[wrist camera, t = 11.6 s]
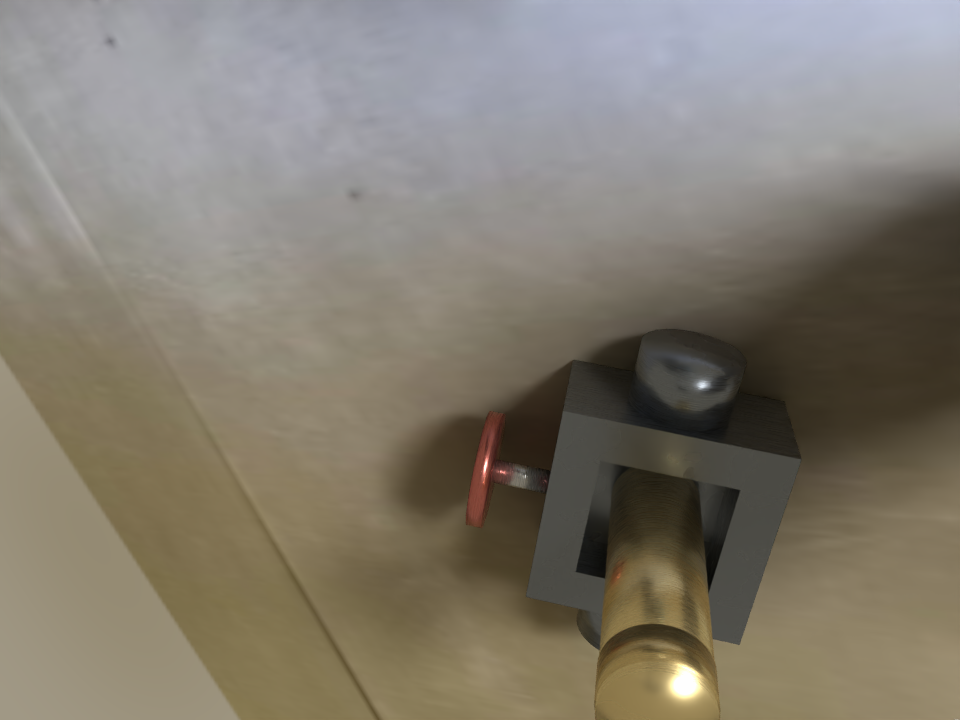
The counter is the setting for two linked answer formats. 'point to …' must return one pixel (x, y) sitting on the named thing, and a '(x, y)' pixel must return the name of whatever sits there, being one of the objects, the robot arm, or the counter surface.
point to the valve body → (658, 448)
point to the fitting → (656, 605)
